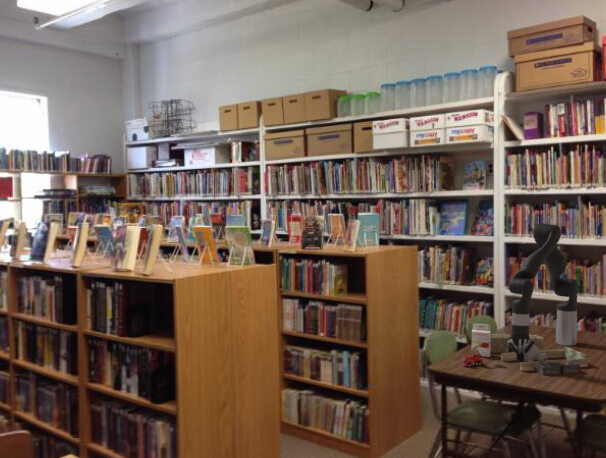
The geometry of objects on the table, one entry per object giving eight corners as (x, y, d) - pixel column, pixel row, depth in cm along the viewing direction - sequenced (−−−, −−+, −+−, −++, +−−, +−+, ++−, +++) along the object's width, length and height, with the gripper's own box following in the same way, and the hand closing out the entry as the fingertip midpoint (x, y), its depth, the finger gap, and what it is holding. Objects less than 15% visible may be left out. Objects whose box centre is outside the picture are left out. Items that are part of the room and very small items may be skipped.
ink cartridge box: (471, 355, 281) (471, 325, 280) (472, 353, 285) (472, 323, 285) (490, 357, 278) (490, 326, 277) (490, 354, 282) (490, 324, 282)
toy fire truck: (461, 365, 264) (461, 344, 264) (483, 361, 271) (483, 340, 270) (466, 367, 261) (466, 346, 261) (489, 363, 268) (489, 342, 267)
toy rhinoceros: (543, 373, 260) (551, 356, 258) (517, 359, 265) (525, 343, 263) (546, 368, 266) (554, 352, 264) (520, 356, 271) (527, 339, 269)
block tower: (539, 351, 290) (478, 348, 294) (540, 334, 290) (478, 331, 294) (543, 356, 282) (480, 352, 287) (544, 338, 282) (481, 335, 286)
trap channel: (501, 360, 271) (501, 350, 271) (564, 356, 277) (564, 345, 276) (530, 376, 247) (530, 364, 247) (598, 370, 253) (598, 359, 253)
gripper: (529, 321, 267) (529, 358, 268) (502, 322, 265) (502, 360, 266) (538, 324, 260) (538, 363, 261) (511, 325, 258) (510, 364, 258)
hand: (520, 361), depth 263 cm, fingers closed
